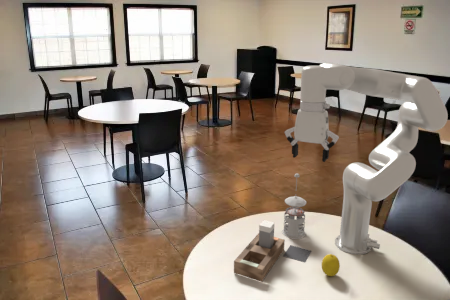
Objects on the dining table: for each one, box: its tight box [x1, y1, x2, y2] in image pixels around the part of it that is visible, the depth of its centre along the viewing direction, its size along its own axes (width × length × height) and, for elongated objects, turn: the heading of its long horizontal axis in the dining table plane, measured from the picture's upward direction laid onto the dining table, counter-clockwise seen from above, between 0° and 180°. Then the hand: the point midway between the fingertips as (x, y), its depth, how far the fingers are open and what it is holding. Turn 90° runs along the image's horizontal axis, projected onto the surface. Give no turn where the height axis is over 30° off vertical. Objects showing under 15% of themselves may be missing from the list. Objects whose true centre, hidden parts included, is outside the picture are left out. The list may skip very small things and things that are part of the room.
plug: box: [258, 219, 275, 249], centre depth 133 cm, size 4×4×12 cm
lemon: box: [321, 253, 341, 277], centre depth 121 cm, size 6×6×8 cm
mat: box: [282, 244, 313, 263], centre depth 134 cm, size 8×8×1 cm
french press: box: [281, 173, 307, 240], centre depth 145 cm, size 10×12×25 cm
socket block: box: [233, 232, 286, 283], centre depth 130 cm, size 10×20×5 cm, turn 152°
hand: (309, 158), depth 123 cm, fingers open, 9 cm apart
